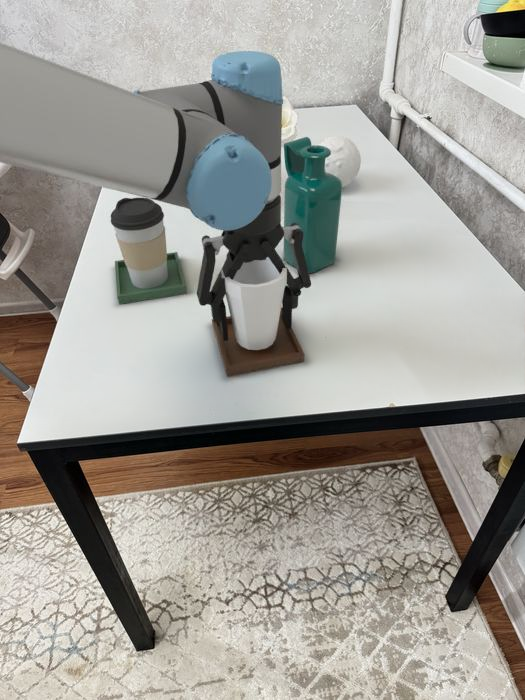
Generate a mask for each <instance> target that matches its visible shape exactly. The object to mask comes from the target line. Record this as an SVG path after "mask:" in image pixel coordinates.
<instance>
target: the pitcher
mask: <svg viewBox="0 0 525 700" xmlns="http://www.w3.org/2000/svg"><path fill="white" fill-rule="evenodd" d="M330 155H331V150H330V149H329V148H327V147H324V146H319V145H318V144H316V145H313V144H312V141H311V138H310V137H308V136H304V137H301V138H298V139H293V140H291V141H287V142H285V143H283V157H284V166H285V171H286V174H287V178H286V180H285V182H284V203H283V204H284V210H283V227H289V226H290V225H291V224H292V223H297V224H298V225H299V227H300V228H301V230H302V232H303V242H302V248H303V252H304V256H305V260H306V264H307V268H308V272H309V274H313V273H315V272H318V271H320V270H322V269H325V268H326V267H328V266H330V265H333V264H334V263H335V261H336V255H337V245H338V244H337V243H338V236H339V235H338V234H339V226H340V217H341V216H340V214H341V204H342V194H343V188H342V182H341V180H340V179H339V178H338V177H336V176H334V175H332V174H330V173H328V172H326V171H325V158H327V157H329V156H330ZM283 260H284V261H285V262H286V263H288V264H290V265H291V266H293V267H294V268H296V265H295V262H294V258H293V254H292V250H291V247H290V243H289V242H288V241H287V240H286V238H285V237H283Z"/></svg>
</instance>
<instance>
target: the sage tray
mask: <svg viewBox="0 0 525 700" xmlns="http://www.w3.org/2000/svg"><path fill="white" fill-rule="evenodd" d="M181 265H182V264H181V262H180V257H179V254H178V251H174V252H167V271H168V279H167V280H166V282H165V283H163V284H162V285H160V286H158V287H155V288H149V289H143V288H138V287H136V286H134V285H133V283H132V281H131V278H130V275H129V272H128V269H127V266H126V264H125V262H124V259H119V260H115V261H114V269H115V270H114V271H115V284H116V296H117V297H116V298H117V302H118V305H124V304H129V303H136V302H142V301H148V300H154V299H160V298H161V299H162V298H166V297H173V296H180V295H185V294H187V293H188V292H187V291H188V290H187V285H186V281H185V277H184V272H183V270H182V266H181Z"/></svg>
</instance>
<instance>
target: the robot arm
mask: <svg viewBox="0 0 525 700" xmlns="http://www.w3.org/2000/svg"><path fill="white" fill-rule="evenodd" d="M210 78H211V79H209V80H205V81H202V82H198V83H191V84H183V85H177V86H169V87H163V88H156V89H149V90H142V91H141V90H140V89H139V90H138V89H137V90H134V91H130V90H128V89H125V88H123V87H120V86H117V85H114V84H112V83H109V82H106V81H104V80H101V79H99V78H97V77H93V76H90V75H88V74H85V73H83V72H80V71H77V70H75V69H73V68H70V67H67V66H64V65H62V64H59V63H56V62H53V61H50V60H48V59H45V58H43V57H40V56H38V55H35V54H32V53H30V52H27V51H24V50H22V49H19V48H16V47H13V46H11V45H8V44H6V43H4V42H0V163H1V164H5V165H10V166H14V167H18V168H22V169H25V170H30V171H33V172H39V173H42V174H46V175H51V176H55V177H59V178H62V179H67V180H71V181H75V182H79V183H84V184H88V185H92V186H97V187H100V188H104V189H108V190H113V191H117V192H121V193H125V194H128V195H132V196H136V197H140V198H148V199H151V200H153V201H158V202H162V203H165V204H169V205H172V206H176V207H182V208H184V209H188V210H189V211H190V213H191V214H192V216H194V217H195V218H196V219H198V220H199V221H201V222H204V223H205V224H206V225H207V226H209V227H210V228H212V229H216V230H218V231H222V232H221V235H217V236H213V237H210V236H209V235H206V234H205V235H203V236H202V237H201V244H202V249H203V255H202V261H201V266H200V271H199V277H198V282H197V288H196V289H197V290H196V296H197V299H198V303H199V305H200V306H201V307H203V306H206V305H209V306H210V310H211V317H212V319H213V320H214V322H215V323H216V322H220V331H221V334H222V337H223V341H227V340H228V330H227V318H226V317H227V306H226V303H225V301H224V298H225V297H226V287H225V278H222V276H221V270H220V271H219V273H218V275H217V277H216V279H215V281H214V282H213V285H212V281H213V277H214V272H215V267H216V256H218V255H219V253H220V251H221V248H222V247H224V248H226V250H228V251H227V254H226V258H225V260H226V261H225V260H224V262H225V263H224V262H223V263H224V265H223V267H222V270H223V273H224V276H225V277H230V278H231V279H232V280H233V278H234V276H235V274H236V272H237V271H238V270H240V268H241V266H242V264H243V262H244V263H248V262H251V261H254V260H266V258H267V257H269V259H270V260H271V262H272V263H273V264H274V266H275V267H276V269H277V270H278V272H279V273H281V272H282V268H287V284H286V286H285V289H284V294H283V300H282V306H281V307H282V320H283V322H284V324H285V327H286V329H291V327H292V321H293V310H294V309H298V306H299V297H300V296H301V294H302V291H301V289H309V288H311V286H312V281H311V278H310V273H309V272H308V268H307V264H306V260H305V256H304V252H303V248H302V242H303V232H302V230H301V228H300V227H299V225H298V224H297V223H292V224H291V225H290V226H289V227H284V226H282V224H281V223H282V222H281V221H282V197H281V195H280V194H281V192H282V134H283V133H282V131H283V130H282V125H283V124H282V123H283V104H284V99H283V79H282V78H283V77H282V68H281V64H280V62H279V60H278V59H277V57H275V56H274V55H272V54H269V53H267V52H263V51H254V50H253V51H252V50H240V51H239V50H238V51H237V50H236V51H230V52H227V53H225V54H220V55H217V56H216V57H215V58H214V59H213V61H212V65H211V74H210ZM284 237H285V238H286V240H287V241H288V242H289V243H290V247H291V250H292V254H293V258H294V262H295V265H296V267H295V269H296V272H297V277H294V276H293V275H292V273H291V271H290V270H289V269H288V267H287V266H286V267H285V265H284V263H283V261H284V260H283V258H281V256H280V254H279V253H278V251H277V250H276V248H277V247H278V246H279V244H280V243H281V241H282V240H283V239H284ZM282 260H283V261H282Z"/></svg>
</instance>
